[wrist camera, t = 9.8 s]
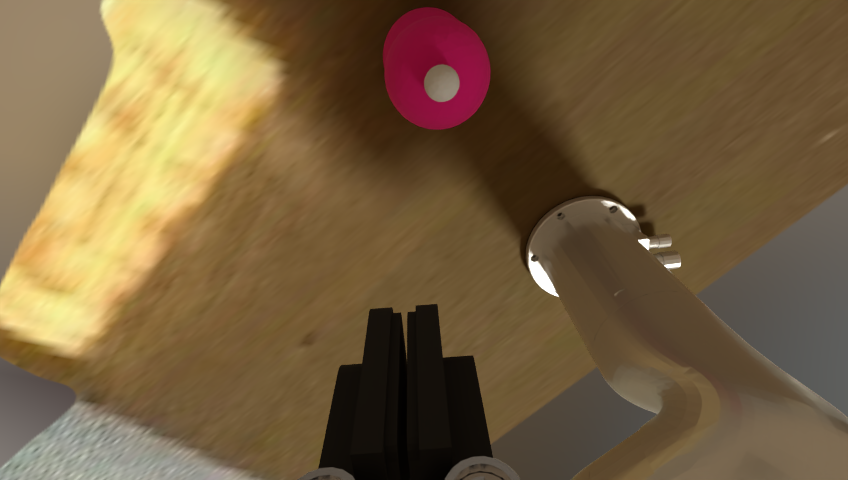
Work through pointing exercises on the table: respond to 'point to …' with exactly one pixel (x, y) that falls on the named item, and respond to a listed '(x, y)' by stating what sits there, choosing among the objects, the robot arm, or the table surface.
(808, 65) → the table surface
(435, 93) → the pepper mill
